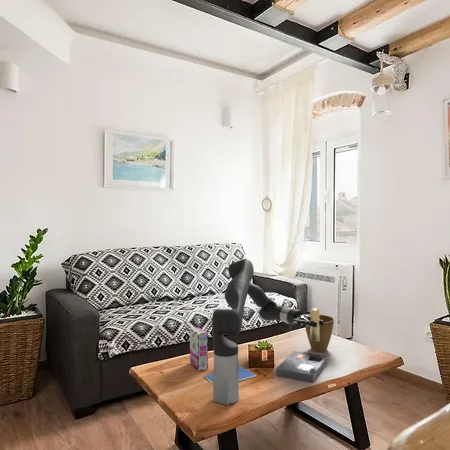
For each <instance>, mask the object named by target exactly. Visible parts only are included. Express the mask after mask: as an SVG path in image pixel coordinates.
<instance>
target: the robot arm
mask: <svg viewBox="0 0 450 450" xmlns="http://www.w3.org/2000/svg"><path fill="white" fill-rule="evenodd" d="M227 268H228V275H229V277H230V279H231V280H230V281H229V282H228V284H227V286H226V289H225V292H224V300H225V302H226V304H227V305H228V306H229V309H227V308H225V309H224V308H223V309H222V308H217V309H214V310H213V313H212V317H211V318H212V319H211V325H212V326H211V327H212V328H211V329H212V344H213V373H214V376H213V384H212V388H213V389H212V393H213V394H212V395H213V397H212V398H213V399H212V400H213V401H214V402H213V401H212V402H213V403H217V402H218V403H217V404H221V403H222V405H226V406H229V405H231V404H235V403H237V402H238V401H239V399H240V396H239V395H240V393H239V391H240V386H239V384H240V383H239V382H240V381H239V370H238V366H239V345H238V344H237V343H236V342H234V341H233V340H230V339H228V338H227V337H226V336H236V335H239V333H241V330H242V327H243V317H244V309H245V305H246V300H247V298H248V297H250V298H251V300H252V302H253V303H254V304H255V305H256V306H257V307H259V308H260V309H259V310H258V315H259V317H260V318H261V319H262V320H265V321H280V322H283V323H285V324H288V325H291V326H296V327H299V326H300V327H304V328H305V326H312V327H317V322H313V321H310V316H308V315H309V314H305V313H303V311H302V310H300V309H297V308H293V307H286V306H283V305H278V304H277V302H276V301H274V300H273V299H271V298H270V297H268V295H267V294H266V293H265V291H264V290H263V289H262V288H261V286H259V285H256V284H254V283H253V282H252V279H253V277H254V271H255V269H254V264H253V263H252V261H251V260H250V259H249V258H243V259H239V260H237V261H234V262H232V263H230V264H229V265H228V267H227ZM230 308H231V309H230ZM319 325H322V326H323V325H324V321H323V320H319ZM230 403H231V404H230Z"/></svg>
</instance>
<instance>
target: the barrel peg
mask: <svg viewBox="0 0 450 450" xmlns="http://www.w3.org/2000/svg"><path fill="white" fill-rule="evenodd" d="M309 315H310V321H313V322H317V327H312V326H310V340H311V341H313V342H318V341H320V332H319V315H320V309H319V308H310V309H309Z"/></svg>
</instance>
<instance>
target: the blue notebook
mask: <svg viewBox="0 0 450 450" xmlns="http://www.w3.org/2000/svg"><path fill="white" fill-rule="evenodd" d="M238 370H239V382H241V381H242V380H243V381H245V380H249V379H252V378H256V377H257V374H255V373H254V372H252V371H250V370H248V369H246V368H244V367H243V366H240V365H238ZM213 376H214V372H213V373H209V374H206V375H204V376H203V378H204V377H205V378H207V379H208V380H209V381H210V383H211V382H212V383H213ZM205 378H204V379H205ZM208 380H207V381H208ZM209 381H208V382H209ZM212 383H211V384H212Z"/></svg>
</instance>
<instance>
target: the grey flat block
mask: <svg viewBox="0 0 450 450" xmlns="http://www.w3.org/2000/svg"><path fill="white" fill-rule="evenodd" d="M327 364H328V356H327V355H322V354H317V353H308V352H303V351H297V350H293V351H292V352H291V353H290V354H289V355H288V356H287V357H286V358H285V359H284V360H283V361H282V362H280V364H279V365H278V366H277V367H275V376H277V377H283V378H287V379H292V380H296V381H297V380H298V381H303V382H308V383H312V384H313V383H314V382H315V381H316V380H317V378H318V377H319V375H320V374H321V373H322V371H324V368H325V367H326V365H327Z"/></svg>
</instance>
